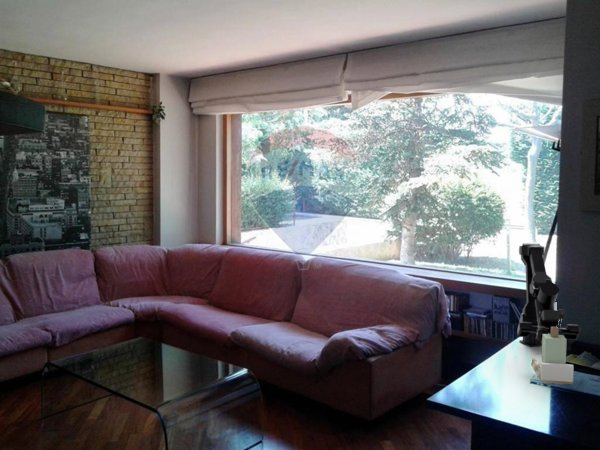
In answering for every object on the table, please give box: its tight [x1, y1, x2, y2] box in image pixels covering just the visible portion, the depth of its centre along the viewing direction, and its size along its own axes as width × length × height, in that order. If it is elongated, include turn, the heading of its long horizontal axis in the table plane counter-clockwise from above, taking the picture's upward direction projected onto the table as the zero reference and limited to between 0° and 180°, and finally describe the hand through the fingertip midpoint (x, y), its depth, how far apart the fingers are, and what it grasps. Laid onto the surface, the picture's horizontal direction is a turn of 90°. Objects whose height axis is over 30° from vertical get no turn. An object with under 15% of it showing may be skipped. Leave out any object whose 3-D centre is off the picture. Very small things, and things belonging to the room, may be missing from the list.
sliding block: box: [541, 327, 567, 364], centre depth 171 cm, size 5×6×15 cm
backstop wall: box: [541, 363, 575, 383], centre depth 167 cm, size 2×9×5 cm, turn 77°
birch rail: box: [530, 357, 574, 385], centre depth 174 cm, size 17×9×2 cm, turn 167°
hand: (551, 353), depth 174 cm, fingers closed, pressing on sliding block
